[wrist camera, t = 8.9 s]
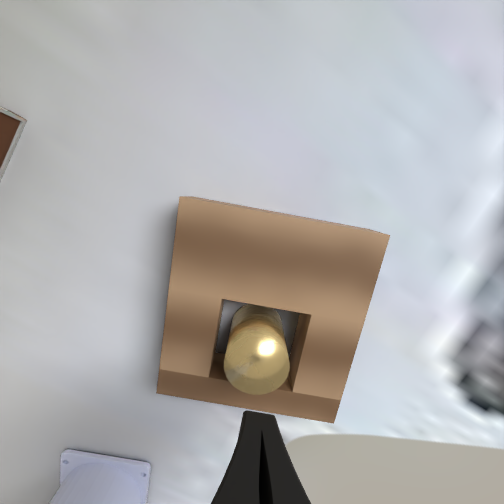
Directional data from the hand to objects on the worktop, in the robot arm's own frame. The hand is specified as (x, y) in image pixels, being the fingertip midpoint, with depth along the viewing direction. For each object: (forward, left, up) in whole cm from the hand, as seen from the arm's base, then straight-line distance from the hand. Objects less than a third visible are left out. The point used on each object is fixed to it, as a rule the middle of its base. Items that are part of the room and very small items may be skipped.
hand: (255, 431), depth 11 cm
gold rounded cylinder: (0, 0, -9) cm, 9 cm away
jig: (+2, 0, -9) cm, 10 cm away
